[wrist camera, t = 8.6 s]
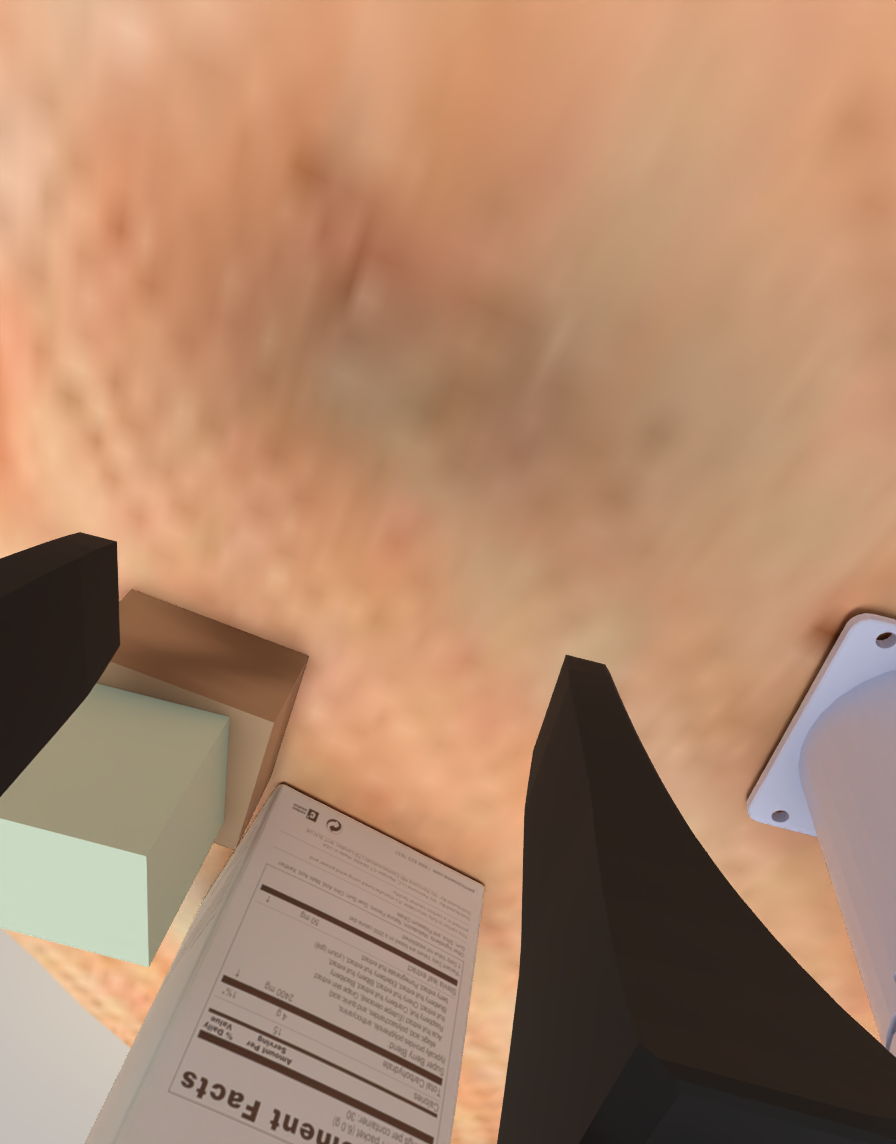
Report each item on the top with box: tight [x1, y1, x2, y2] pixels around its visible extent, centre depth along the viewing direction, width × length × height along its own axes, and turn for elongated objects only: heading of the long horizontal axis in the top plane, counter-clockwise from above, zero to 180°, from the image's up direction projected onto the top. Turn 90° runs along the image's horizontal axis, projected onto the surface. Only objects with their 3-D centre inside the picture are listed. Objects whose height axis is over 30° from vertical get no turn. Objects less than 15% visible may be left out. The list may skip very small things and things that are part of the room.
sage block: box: [0, 683, 230, 967], centre depth 22 cm, size 4×4×5 cm
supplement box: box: [85, 784, 485, 1144], centre depth 25 cm, size 9×9×15 cm
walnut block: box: [97, 589, 309, 850], centre depth 26 cm, size 6×6×4 cm
